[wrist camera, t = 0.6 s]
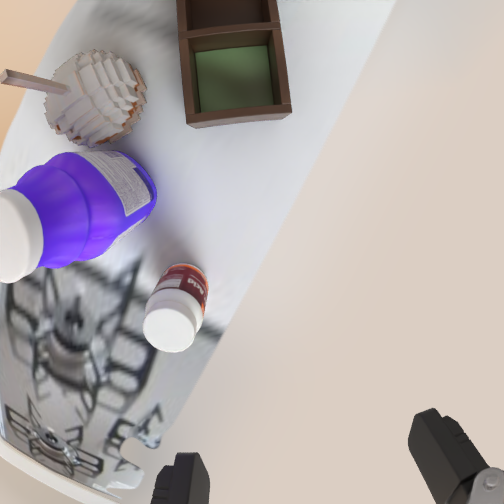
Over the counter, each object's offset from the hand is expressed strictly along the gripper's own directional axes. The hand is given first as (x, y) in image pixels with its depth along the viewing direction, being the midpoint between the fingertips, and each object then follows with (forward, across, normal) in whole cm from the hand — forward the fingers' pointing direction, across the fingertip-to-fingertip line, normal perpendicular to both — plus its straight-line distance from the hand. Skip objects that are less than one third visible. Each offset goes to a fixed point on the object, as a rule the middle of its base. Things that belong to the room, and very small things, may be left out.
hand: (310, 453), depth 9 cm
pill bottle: (+21, +8, 0) cm, 23 cm away
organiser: (+19, 0, -25) cm, 31 cm away
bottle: (+20, +12, -10) cm, 26 cm away
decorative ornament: (+20, +12, -18) cm, 30 cm away
